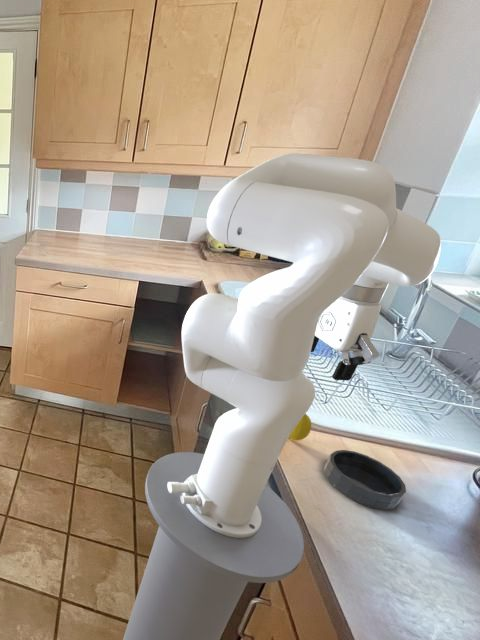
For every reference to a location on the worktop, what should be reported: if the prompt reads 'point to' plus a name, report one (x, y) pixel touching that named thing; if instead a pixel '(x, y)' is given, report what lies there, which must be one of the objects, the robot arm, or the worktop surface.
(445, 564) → the worktop surface
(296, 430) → the lemon
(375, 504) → the pan
